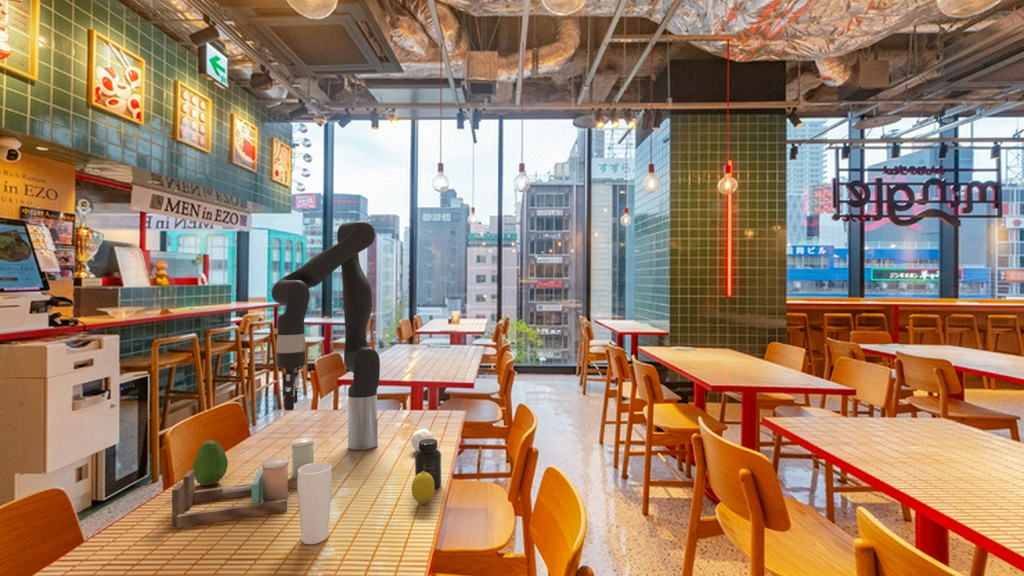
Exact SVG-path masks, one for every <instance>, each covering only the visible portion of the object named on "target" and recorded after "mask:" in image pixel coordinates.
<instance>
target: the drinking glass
mask: <svg viewBox="0 0 1024 576" xmlns="http://www.w3.org/2000/svg"><path fill="white" fill-rule="evenodd" d="M332 468H333V467H332V464H331V463H329V462H325V461H321V462H320V461H319V462H318V461H317V462H316V461H315V462H314V463H310V464H307V465H304V466H302V467H300V468H299V469H298V475H297V479H296V485H297V489H296V491H297V500H298V503H297V504H298V510H299V522H300V523H299V525H300V531H301V532H300V540H301V542H302V543H303V544H306V545H316V544H319V543H323V542H324V541H326V539H327V538H328V537H329V535H330V534H329V533H330V528H329V527H330V526H329V525H330V512H331V500H332V491H333V469H332Z"/></svg>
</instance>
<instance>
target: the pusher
mask: <svg viewBox="0 0 1024 576" xmlns="http://www.w3.org/2000/svg"><path fill="white" fill-rule="evenodd" d="M251 484H252V486H244V487H236V488H229V489H223V491H222V493H223V494H224V493H232V492H239V491H247V490H252V495H251V504H256V503H262V502H263V467H259V468H258V470H257V472H256V475H255V477H254V478H253V481H252V483H251Z"/></svg>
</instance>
